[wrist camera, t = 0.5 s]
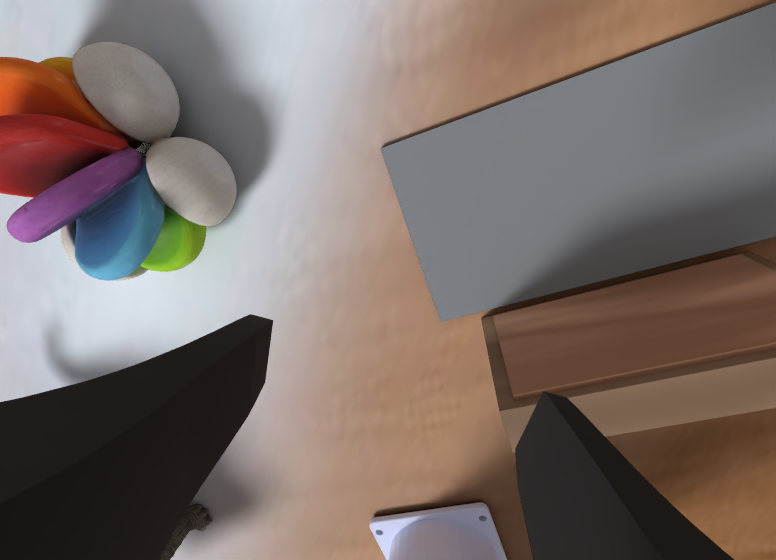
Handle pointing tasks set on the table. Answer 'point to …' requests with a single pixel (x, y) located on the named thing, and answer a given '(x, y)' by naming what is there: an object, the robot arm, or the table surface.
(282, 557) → the table surface
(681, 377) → the wooden block
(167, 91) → the rainbow petal rattle
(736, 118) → the felt mat
